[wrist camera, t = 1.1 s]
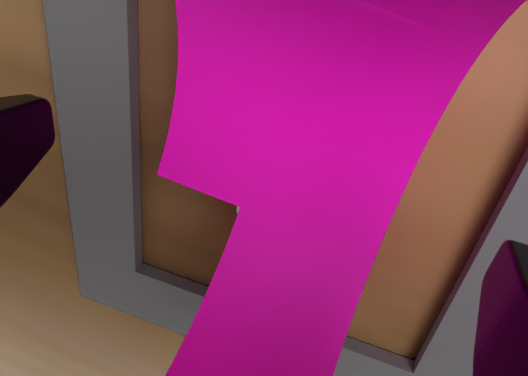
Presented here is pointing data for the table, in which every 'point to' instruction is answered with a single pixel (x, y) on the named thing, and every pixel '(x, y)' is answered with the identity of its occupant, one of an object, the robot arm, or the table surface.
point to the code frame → (192, 293)
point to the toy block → (306, 157)
